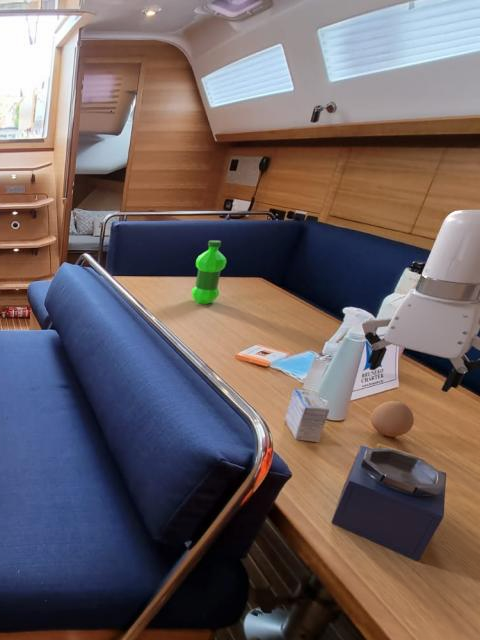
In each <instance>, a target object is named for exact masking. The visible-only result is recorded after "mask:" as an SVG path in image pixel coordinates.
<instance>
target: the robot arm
mask: <svg viewBox="0 0 480 640" xmlns="http://www.w3.org/2000/svg"><path fill="white" fill-rule="evenodd" d="M431 248H432V249H431V250H430V253H429V255H428V258H427V259H426V262H425V265H424V267H423V269H422V272H421V275H420V277H419V279H418V282H417V284H416V286H415V288H411V289H409V291H408V292H407V293H406V294H405V296H404V297H403V298H402V300H401V301H400V303H399V305H398V307H397V309H396V310H395V311H394V314H393V316H392V317H388V318H381V319H374V320H372V319H371V320H367V321H364V322H362V324H361V326H362V330H363V333H364V338H365V340H366V341H367V342H368V343H369V345H370V348H371V350H372V351H371V352H370V356H369V358H368V360H367V363H368V364H370V365H369V368H368V369H369V370H370V371H375V370H377V369H378V368H380V366H381V364H382V362H383V361H384V358H385V355H386V353H387V350H388V349H387V347H389V346H390V345H392V346H396V347H400V348H403V349H408V350H411V351H416V352H420V353H423V354H427V355H431V356H434V357H440V358H443V359H448V360H449V361H450V363H451V364H452V366H453V368H452V369H451V370H450V371H449V373H448V375H447V377H446V379H445V381H444V383H443V385H442V387H441V389H440V390H441V391H442V392H444V393H448V392H449V391H450V390H451V389H452V388H454V389H457V388H458V387H459V386H460V384H461V382H462V381H463V378H464V376H465V374H466V373H467V372H471V371H475V370H479V369H480V358H477V359H473V360H469V358H468V357H467V355H466V354H468V353H469V351H470V350H471V349H472V347H473V348H474V349H476V350H478V351H479V352H480V336H478V334H479V332H480V209H461V210H455V211H453V212H451V213H449V214H448V215H447V216H446V217H445V218H444V220H443V222H442V224H441V226H440V228H439V231H438V233H437V236H436V239H435V241H434V243H433V246H432V247H431ZM385 327H386V329H385V332H384V335H383V338H380V336H379V335H378V334H377V332H376V329H377V328H385Z"/></svg>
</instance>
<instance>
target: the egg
mask: <svg viewBox="0 0 480 640" xmlns="http://www.w3.org/2000/svg"><path fill="white" fill-rule="evenodd" d="M414 422H415V418H414V414H413V411H412V410H411V408H410V407H409V406H408V405H406V404H405V403H403V402H401V401H397V400H389V401H385V402H383V403H381V404H379V405H378V406H377V407H375V408H374V409H373V411H372V413H371V415H370V423H371V426H372V427H373V429H374V430H375V431H376V432H378V433H379V434H381V435H383V436H385V437H392V438H393V437H394V438H395V437H400V436H403V435H406V434H407V433H409V432H410V431H411V430H412V428H413V426H414Z"/></svg>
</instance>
